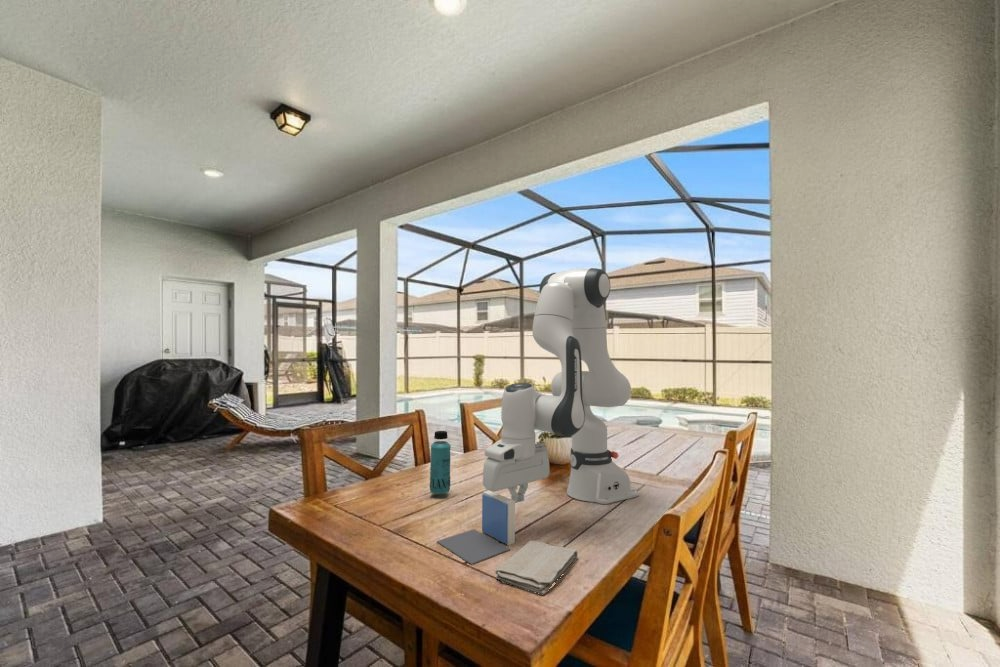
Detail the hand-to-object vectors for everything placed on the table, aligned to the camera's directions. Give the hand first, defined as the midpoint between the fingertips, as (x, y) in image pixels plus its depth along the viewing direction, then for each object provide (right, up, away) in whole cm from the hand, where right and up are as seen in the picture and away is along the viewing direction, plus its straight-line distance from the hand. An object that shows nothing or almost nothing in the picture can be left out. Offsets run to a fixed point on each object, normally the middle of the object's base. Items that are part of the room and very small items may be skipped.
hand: (517, 501), depth 113 cm
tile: (-5, -7, -4) cm, 10 cm away
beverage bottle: (-23, -8, +25) cm, 35 cm away
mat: (-11, -7, -9) cm, 16 cm away
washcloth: (+3, -8, -19) cm, 21 cm away
